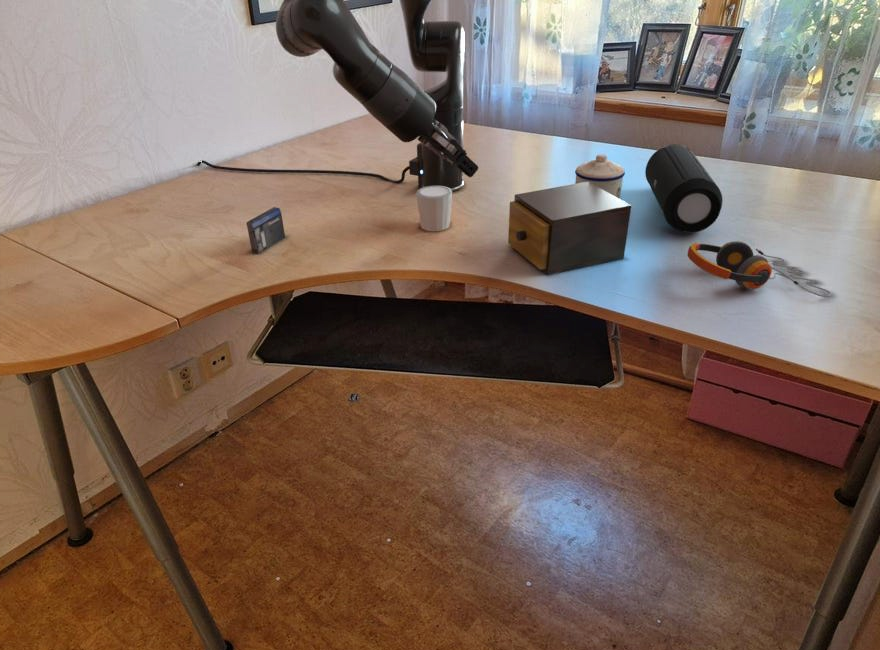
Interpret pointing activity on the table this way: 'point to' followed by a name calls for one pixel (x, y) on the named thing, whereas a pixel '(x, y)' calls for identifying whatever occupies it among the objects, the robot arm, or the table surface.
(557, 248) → the cabinet
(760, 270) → the headphones
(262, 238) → the mini dv tape
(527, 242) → the wooden drawer
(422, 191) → the white faceted cylinder
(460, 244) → the table surface
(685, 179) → the portable speaker
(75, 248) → the table surface
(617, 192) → the teacup with lid
